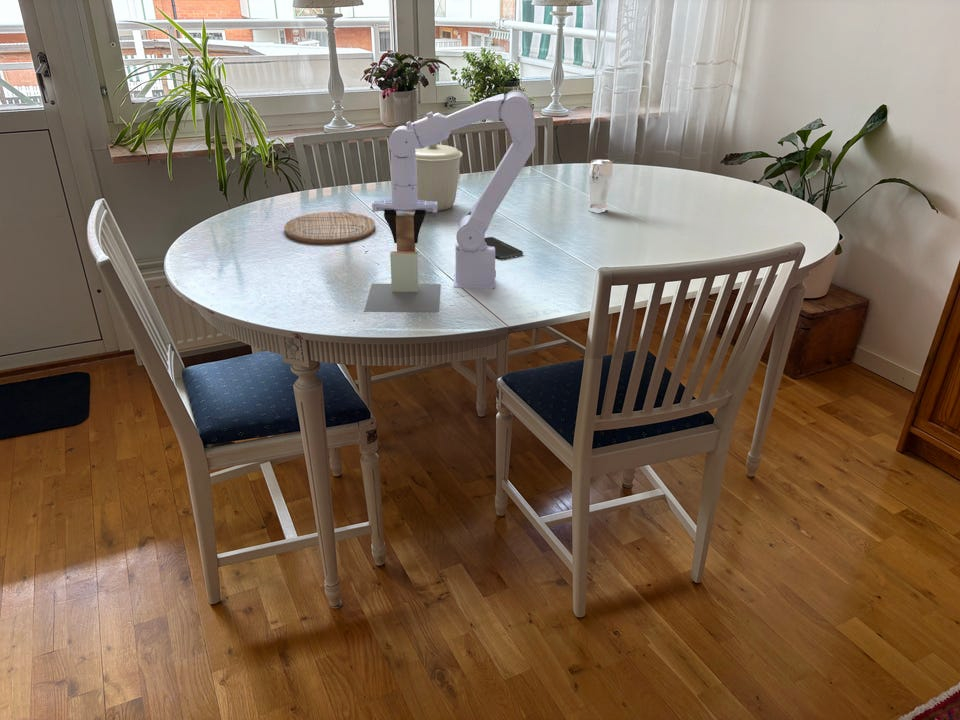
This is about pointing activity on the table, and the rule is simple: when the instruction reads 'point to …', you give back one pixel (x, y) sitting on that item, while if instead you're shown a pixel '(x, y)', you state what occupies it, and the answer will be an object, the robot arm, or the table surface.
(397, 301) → the rubber mat
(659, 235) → the table surface
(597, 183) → the beer glass
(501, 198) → the robot arm
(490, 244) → the phone
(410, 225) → the wooden block
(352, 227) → the trivet
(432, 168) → the canister
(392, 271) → the flat slab
